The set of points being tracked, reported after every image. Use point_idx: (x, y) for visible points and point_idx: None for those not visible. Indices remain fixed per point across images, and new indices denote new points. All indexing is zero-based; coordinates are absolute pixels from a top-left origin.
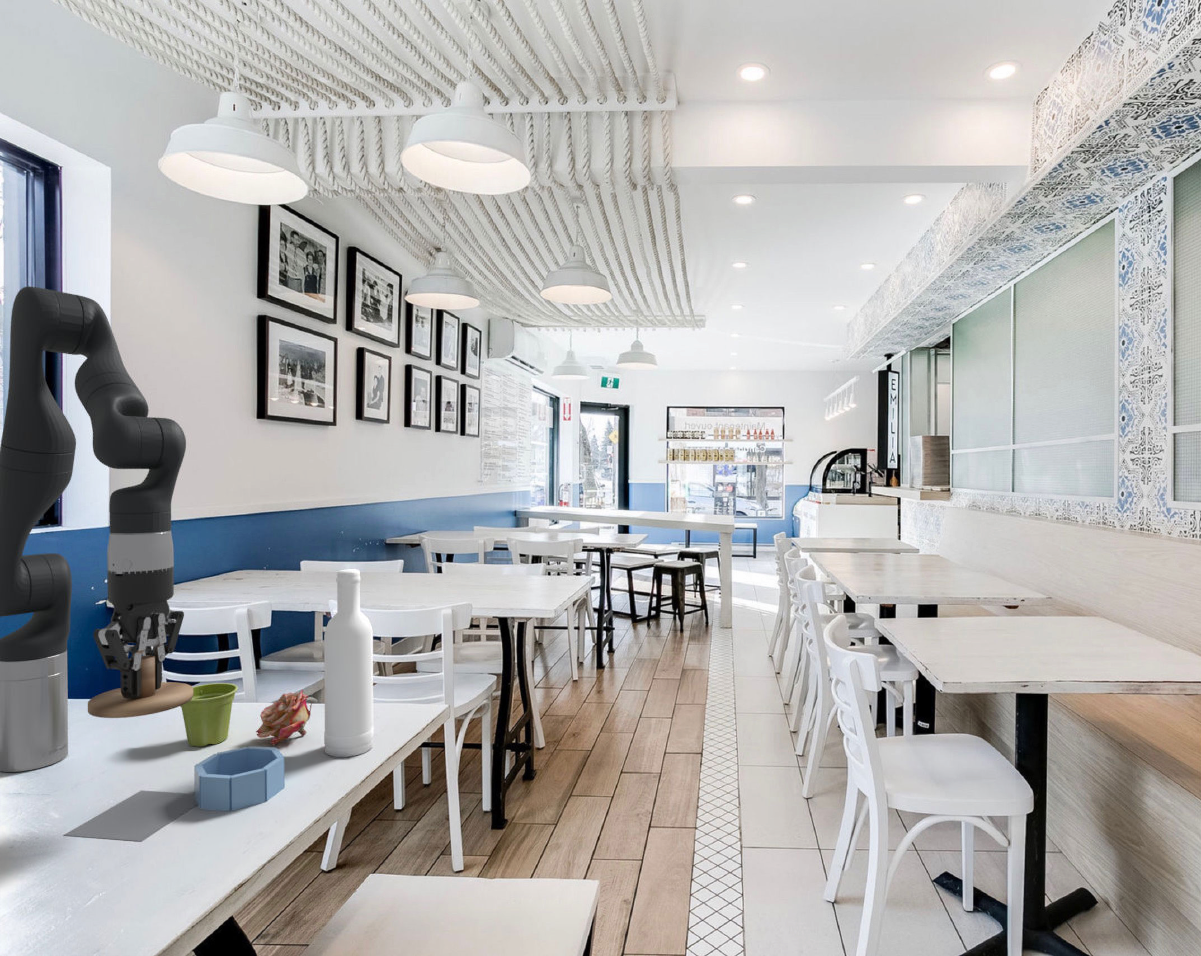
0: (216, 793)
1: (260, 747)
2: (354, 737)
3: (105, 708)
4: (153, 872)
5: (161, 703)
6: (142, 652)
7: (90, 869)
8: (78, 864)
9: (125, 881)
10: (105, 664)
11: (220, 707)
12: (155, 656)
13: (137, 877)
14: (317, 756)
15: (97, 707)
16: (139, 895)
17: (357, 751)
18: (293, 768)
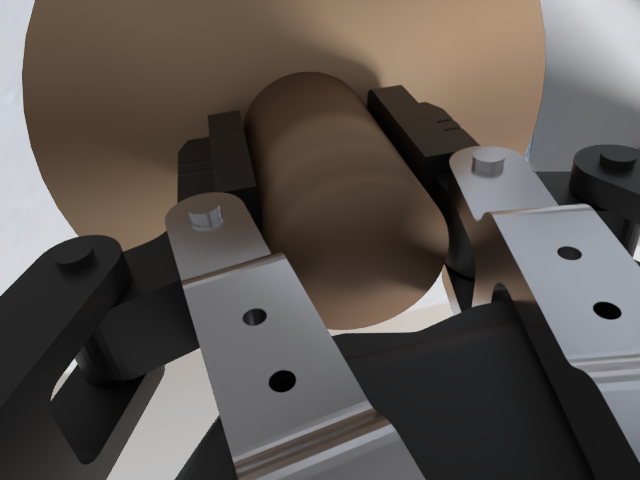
0: None
1: (525, 155)
2: (638, 243)
3: (55, 155)
4: (72, 229)
5: None
6: (464, 193)
7: (7, 101)
8: (4, 51)
9: (21, 210)
10: (23, 278)
11: None
12: (452, 267)
13: (44, 218)
14: (619, 145)
15: (42, 94)
16: (7, 269)
17: None
18: (552, 140)
